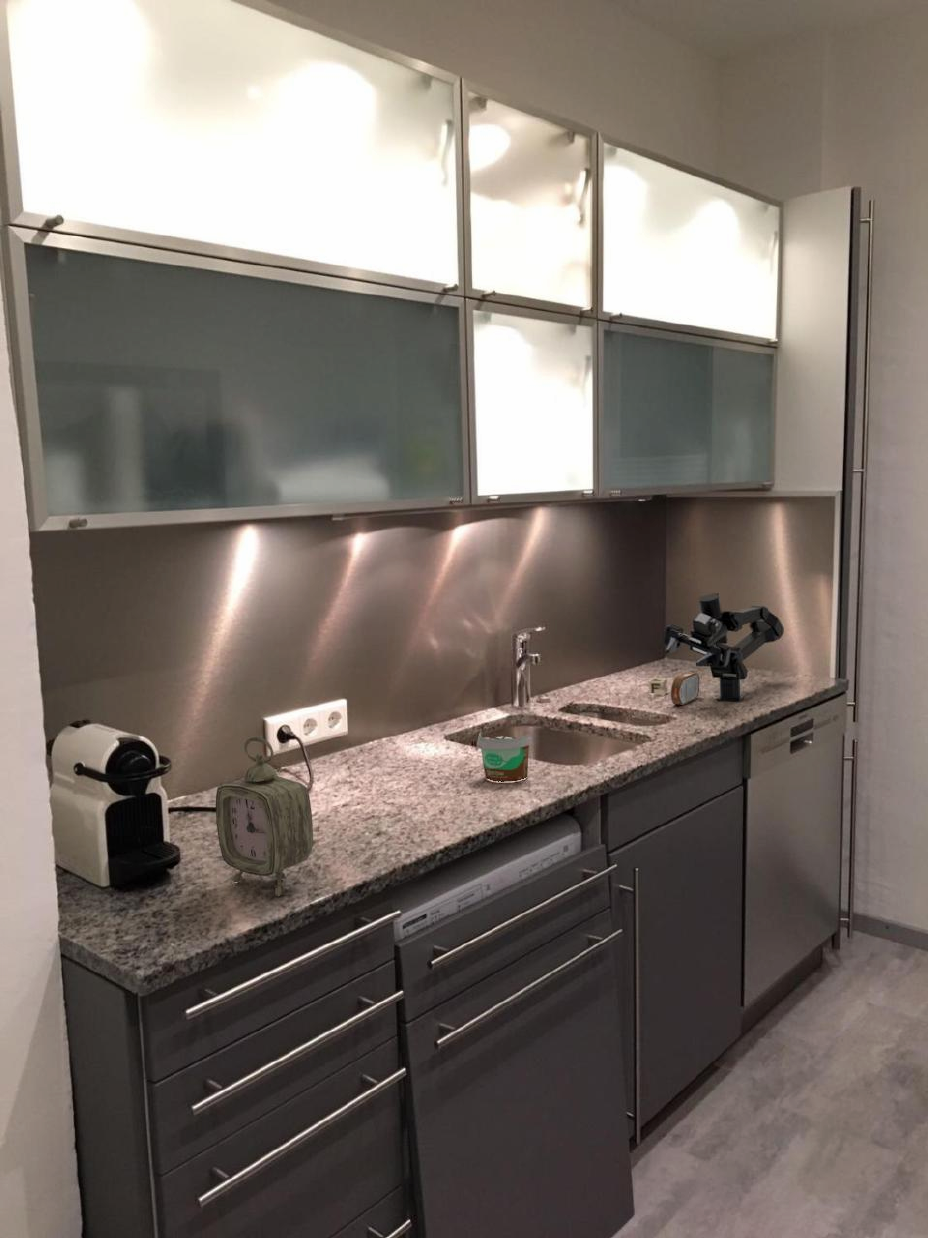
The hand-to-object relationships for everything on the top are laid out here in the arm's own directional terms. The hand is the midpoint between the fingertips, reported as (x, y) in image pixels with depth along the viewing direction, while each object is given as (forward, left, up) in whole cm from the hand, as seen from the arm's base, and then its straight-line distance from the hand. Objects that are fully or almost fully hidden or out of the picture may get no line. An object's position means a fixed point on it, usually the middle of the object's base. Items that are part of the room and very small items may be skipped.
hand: (681, 658), depth 272 cm
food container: (+71, -21, -16) cm, 76 cm away
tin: (-17, -3, -16) cm, 24 cm away
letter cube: (-27, -14, -16) cm, 35 cm away
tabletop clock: (+137, -33, -16) cm, 142 cm away
